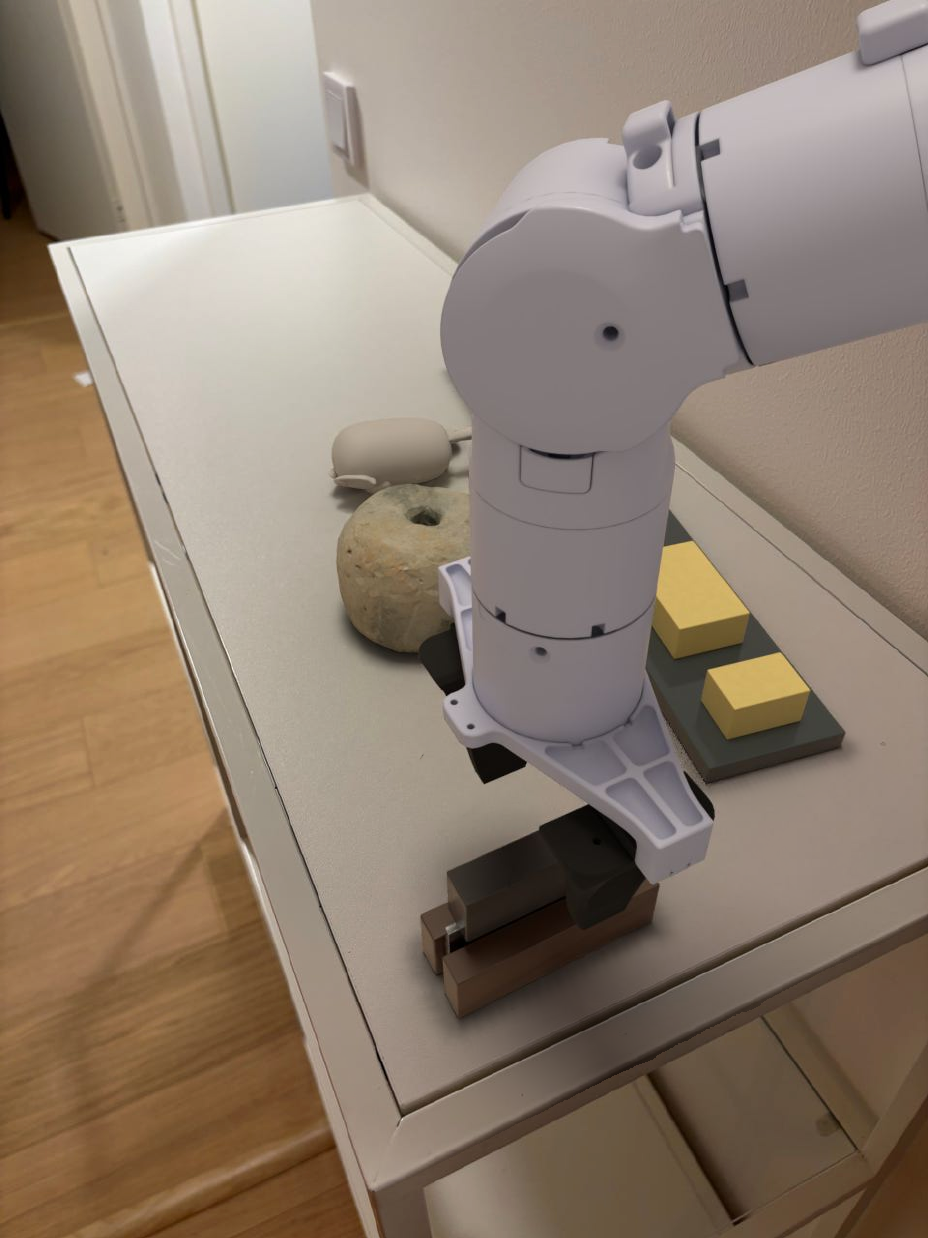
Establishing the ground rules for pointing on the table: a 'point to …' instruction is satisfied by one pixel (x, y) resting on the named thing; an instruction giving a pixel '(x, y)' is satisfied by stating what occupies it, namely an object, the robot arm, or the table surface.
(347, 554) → the stone
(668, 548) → the butter stick
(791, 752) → the butter board
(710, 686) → the butter pat
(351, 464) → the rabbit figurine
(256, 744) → the table surface
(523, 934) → the knife rack
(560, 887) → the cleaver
